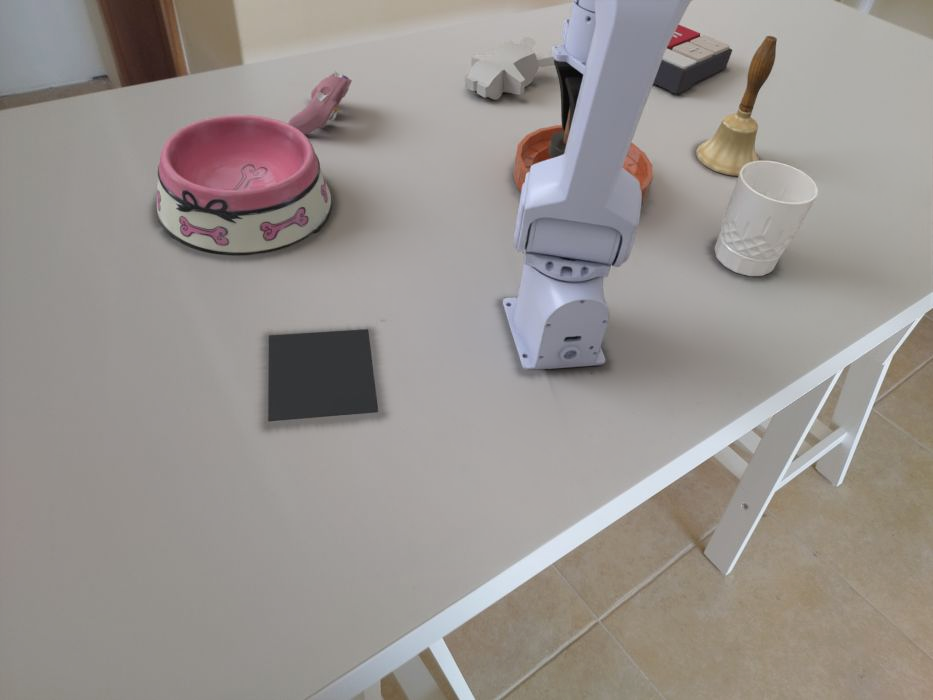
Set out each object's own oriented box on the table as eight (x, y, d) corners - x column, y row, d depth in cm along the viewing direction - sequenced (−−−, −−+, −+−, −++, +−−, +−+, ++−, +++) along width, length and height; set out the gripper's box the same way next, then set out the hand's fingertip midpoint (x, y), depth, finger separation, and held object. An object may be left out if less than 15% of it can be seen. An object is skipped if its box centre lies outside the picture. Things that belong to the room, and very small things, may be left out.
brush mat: (378, 414, 62) (378, 411, 62) (268, 423, 61) (268, 420, 60) (367, 331, 69) (367, 328, 69) (269, 338, 67) (268, 335, 67)
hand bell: (689, 164, 95) (731, 42, 84) (702, 136, 101) (744, 18, 89) (753, 183, 93) (805, 61, 82) (763, 154, 99) (813, 35, 87)
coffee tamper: (598, 166, 78) (613, 104, 73) (555, 167, 77) (567, 105, 72) (585, 142, 81) (599, 81, 76) (543, 143, 80) (554, 82, 75)
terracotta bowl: (664, 222, 86) (673, 197, 83) (530, 228, 83) (534, 201, 80) (620, 148, 96) (626, 124, 94) (500, 150, 94) (503, 125, 91)
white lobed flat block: (450, 58, 101) (522, 20, 108) (451, 92, 105) (520, 53, 112) (501, 84, 97) (572, 43, 104) (499, 118, 101) (568, 76, 108)
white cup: (695, 241, 83) (725, 165, 76) (751, 231, 86) (785, 156, 79) (735, 286, 79) (771, 208, 71) (794, 274, 81) (834, 197, 74)
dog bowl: (356, 179, 86) (355, 126, 81) (287, 275, 74) (281, 219, 69) (212, 145, 89) (203, 92, 84) (121, 233, 76) (104, 176, 71)
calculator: (735, 44, 114) (686, 65, 105) (725, 71, 117) (677, 94, 108) (675, 20, 118) (623, 38, 110) (667, 46, 121) (616, 66, 113)
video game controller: (315, 151, 92) (338, 110, 88) (283, 131, 91) (304, 87, 87) (340, 114, 99) (362, 74, 95) (310, 95, 98) (331, 53, 93)
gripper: (542, -28, 72) (522, 102, 81) (585, 37, 62) (557, 176, 72) (610, -27, 73) (583, 101, 83) (663, 37, 63) (625, 174, 73)
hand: (575, 136), depth 77 cm, fingers closed on coffee tamper, 2 cm apart
